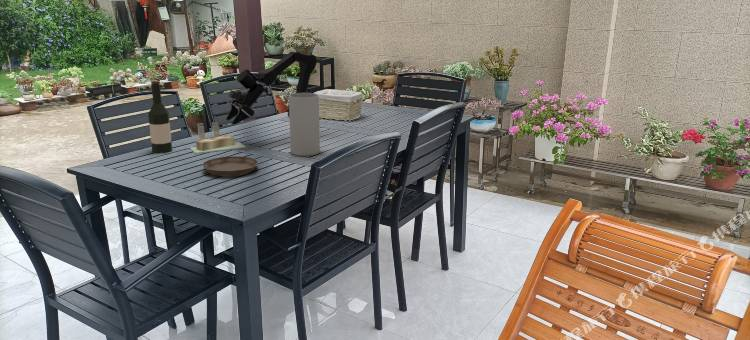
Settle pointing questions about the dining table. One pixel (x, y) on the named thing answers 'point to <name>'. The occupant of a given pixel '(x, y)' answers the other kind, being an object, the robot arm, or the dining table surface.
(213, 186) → the dining table surface
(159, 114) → the wine bottle
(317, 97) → the cylinder vase
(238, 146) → the mat
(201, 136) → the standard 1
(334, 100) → the storage basket
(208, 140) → the beech rail
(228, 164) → the plant saucer
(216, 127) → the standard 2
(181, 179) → the dining table surface
